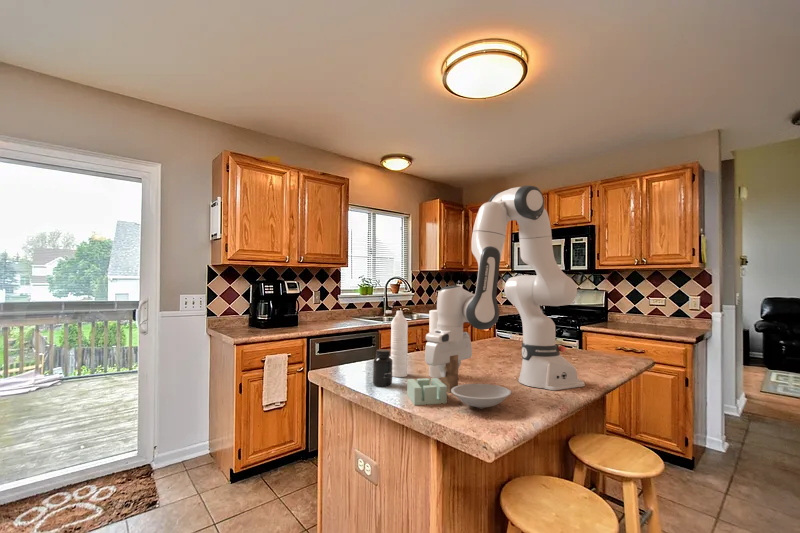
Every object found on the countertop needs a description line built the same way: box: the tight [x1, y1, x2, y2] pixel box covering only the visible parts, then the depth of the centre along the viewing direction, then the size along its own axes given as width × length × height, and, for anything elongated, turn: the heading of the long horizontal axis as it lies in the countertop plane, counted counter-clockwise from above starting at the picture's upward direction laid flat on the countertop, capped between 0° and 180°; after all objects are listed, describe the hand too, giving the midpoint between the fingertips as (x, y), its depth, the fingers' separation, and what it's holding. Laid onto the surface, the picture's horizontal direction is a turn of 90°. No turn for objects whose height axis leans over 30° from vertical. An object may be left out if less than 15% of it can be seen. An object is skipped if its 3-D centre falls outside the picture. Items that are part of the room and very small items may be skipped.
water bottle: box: [385, 309, 409, 378], centre depth 145 cm, size 9×6×25 cm
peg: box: [440, 355, 459, 394], centre depth 126 cm, size 4×4×12 cm
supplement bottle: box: [372, 348, 393, 388], centre depth 132 cm, size 7×7×12 cm
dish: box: [451, 383, 512, 409], centre depth 109 cm, size 18×14×5 cm
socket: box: [406, 377, 448, 406], centre depth 117 cm, size 10×10×5 cm
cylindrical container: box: [428, 309, 441, 379], centre depth 145 cm, size 7×7×25 cm
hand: (449, 375), depth 126 cm, fingers open, 4 cm apart
